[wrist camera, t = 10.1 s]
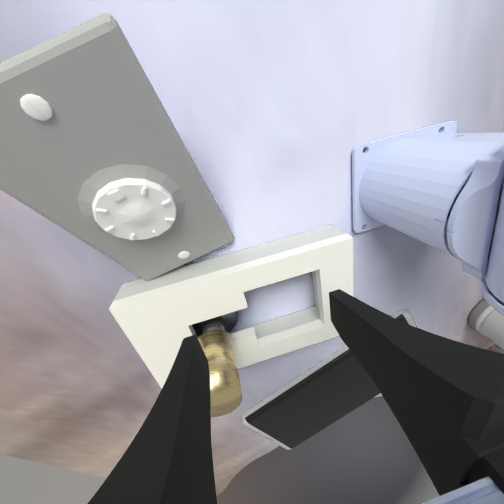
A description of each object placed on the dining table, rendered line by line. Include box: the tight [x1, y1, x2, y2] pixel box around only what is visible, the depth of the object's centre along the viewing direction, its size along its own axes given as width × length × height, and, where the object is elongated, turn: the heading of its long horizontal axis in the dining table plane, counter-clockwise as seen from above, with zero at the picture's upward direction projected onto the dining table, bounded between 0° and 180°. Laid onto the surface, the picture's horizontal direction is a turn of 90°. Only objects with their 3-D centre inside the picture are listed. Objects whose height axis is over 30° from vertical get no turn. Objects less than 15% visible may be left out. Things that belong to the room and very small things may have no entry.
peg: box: [192, 311, 242, 417], centre depth 20 cm, size 5×5×10 cm
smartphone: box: [241, 309, 417, 450], centre depth 34 cm, size 13×27×2 cm, turn 126°
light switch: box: [0, 14, 234, 281], centre depth 15 cm, size 8×6×14 cm
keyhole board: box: [109, 224, 353, 388], centre depth 22 cm, size 20×11×4 cm, turn 102°
